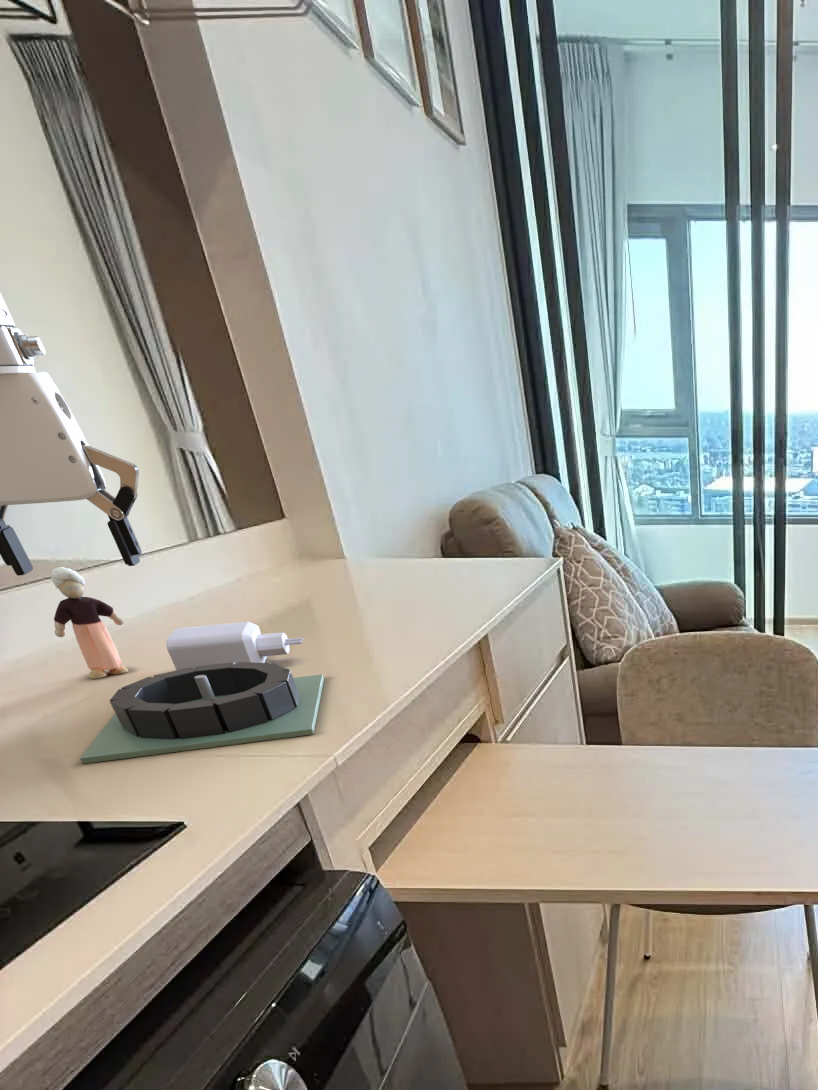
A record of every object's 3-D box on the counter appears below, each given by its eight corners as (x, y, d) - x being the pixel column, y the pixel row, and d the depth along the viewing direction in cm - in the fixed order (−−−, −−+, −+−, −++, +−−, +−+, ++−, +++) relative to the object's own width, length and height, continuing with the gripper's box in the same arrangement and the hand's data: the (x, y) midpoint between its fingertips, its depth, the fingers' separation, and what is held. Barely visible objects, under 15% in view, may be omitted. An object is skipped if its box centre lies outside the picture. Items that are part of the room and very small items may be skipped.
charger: (306, 668, 112) (181, 682, 108) (311, 651, 119) (193, 663, 115) (293, 630, 109) (163, 642, 105) (298, 614, 116) (177, 626, 112)
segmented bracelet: (107, 748, 88) (93, 719, 86) (144, 698, 101) (131, 672, 99) (292, 725, 92) (282, 697, 90) (303, 680, 106) (295, 655, 104)
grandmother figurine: (90, 682, 109) (35, 573, 101) (75, 678, 110) (20, 570, 103) (150, 667, 114) (102, 562, 106) (134, 663, 116) (86, 560, 108)
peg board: (82, 764, 86) (58, 719, 83) (130, 701, 102) (111, 662, 100) (313, 734, 92) (298, 691, 89) (324, 679, 108) (311, 641, 105)
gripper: (98, 352, 80) (181, 554, 91) (-121, 358, 76) (-6, 570, 86) (77, 350, 75) (168, 566, 85) (-160, 357, 70) (-33, 584, 81)
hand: (80, 568), depth 86 cm, fingers open, 9 cm apart
